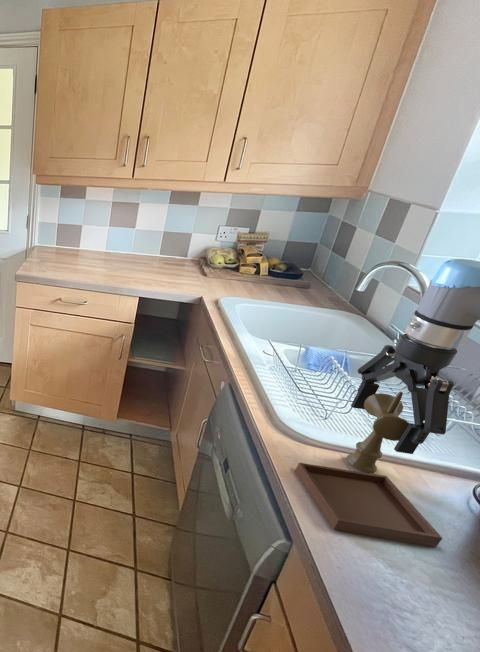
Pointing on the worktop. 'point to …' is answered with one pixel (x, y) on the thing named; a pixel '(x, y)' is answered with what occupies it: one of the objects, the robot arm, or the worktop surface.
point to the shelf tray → (366, 505)
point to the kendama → (379, 430)
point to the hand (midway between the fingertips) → (379, 428)
